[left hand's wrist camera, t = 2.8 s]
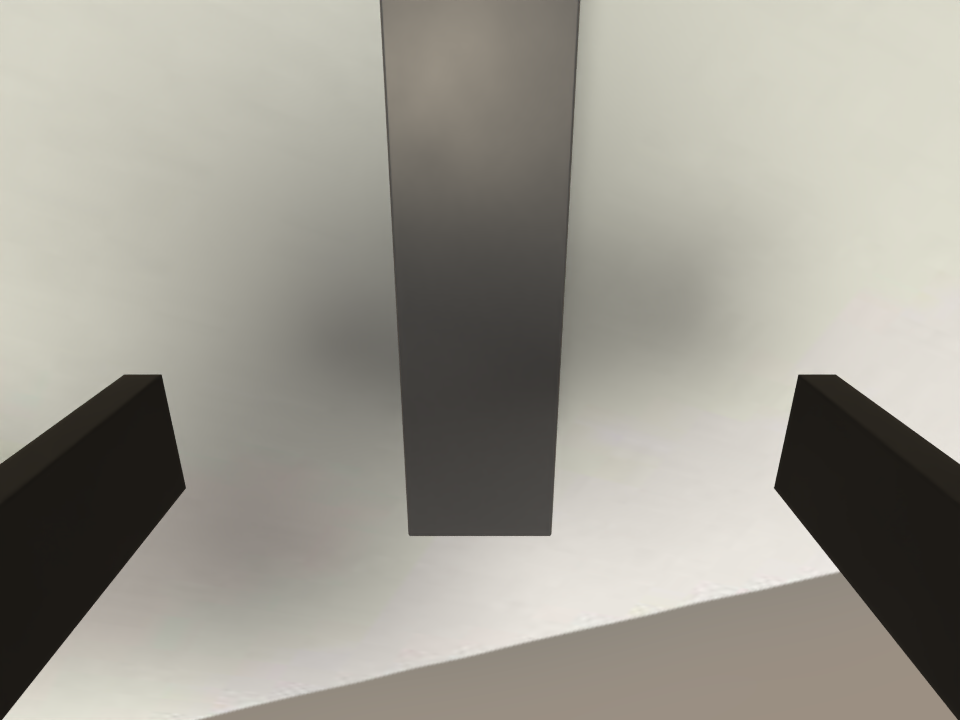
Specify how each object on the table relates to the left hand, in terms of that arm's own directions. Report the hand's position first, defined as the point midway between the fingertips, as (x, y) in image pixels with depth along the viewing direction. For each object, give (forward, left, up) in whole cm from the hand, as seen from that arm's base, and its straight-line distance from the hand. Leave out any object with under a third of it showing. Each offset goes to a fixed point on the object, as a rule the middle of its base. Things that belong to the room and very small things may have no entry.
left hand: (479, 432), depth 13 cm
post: (+10, +32, -14) cm, 36 cm away
